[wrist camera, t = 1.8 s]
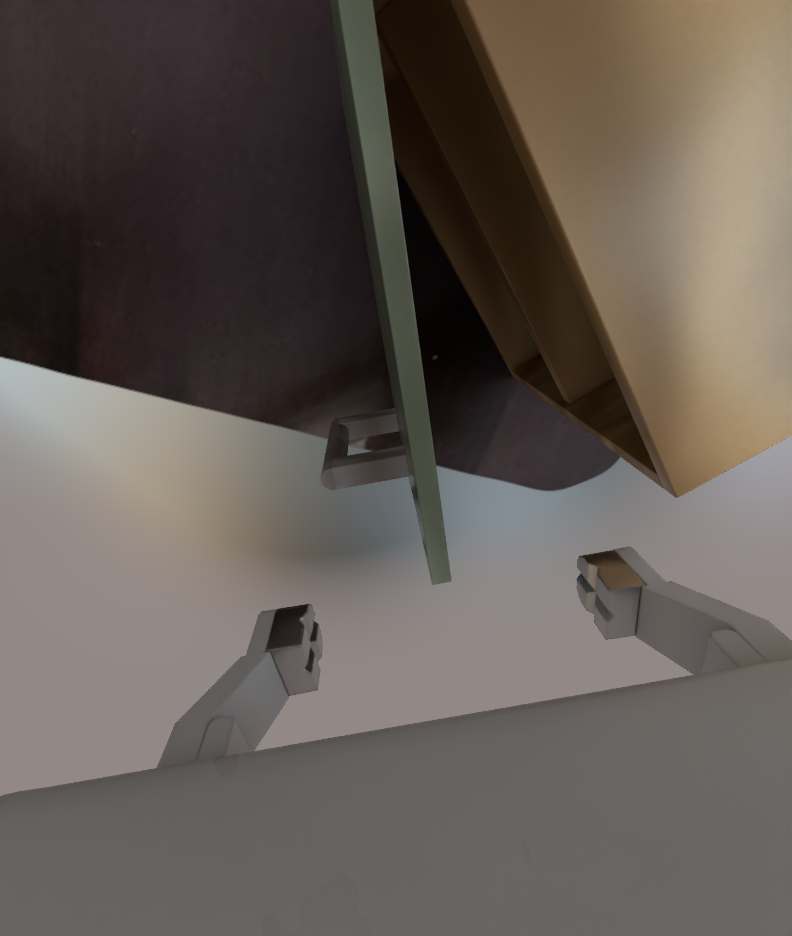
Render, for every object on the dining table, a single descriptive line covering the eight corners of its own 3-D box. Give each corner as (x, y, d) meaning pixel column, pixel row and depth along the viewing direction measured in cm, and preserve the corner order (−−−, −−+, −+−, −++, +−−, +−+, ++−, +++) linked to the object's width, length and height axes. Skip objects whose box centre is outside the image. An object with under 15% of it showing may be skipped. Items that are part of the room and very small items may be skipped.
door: (341, 435, 43) (320, 605, 21) (265, 117, 31) (57, -201, 10) (407, 424, 43) (451, 581, 21) (354, 100, 31) (338, -256, 10)
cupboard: (513, 377, 41) (676, 499, 20) (356, 95, 31) (342, -287, 10) (687, 263, 38) (1112, 261, 16) (575, -97, 28) (1322, -1368, 6)
